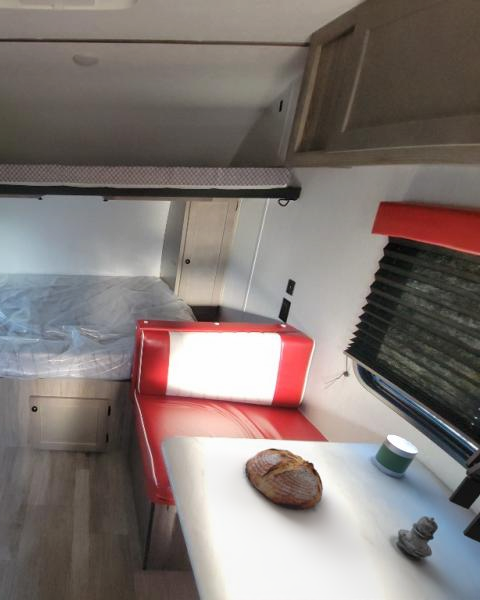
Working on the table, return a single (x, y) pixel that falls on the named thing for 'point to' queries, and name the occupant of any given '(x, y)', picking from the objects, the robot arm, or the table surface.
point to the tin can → (395, 456)
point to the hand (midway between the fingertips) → (465, 520)
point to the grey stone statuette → (417, 539)
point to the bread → (285, 478)
